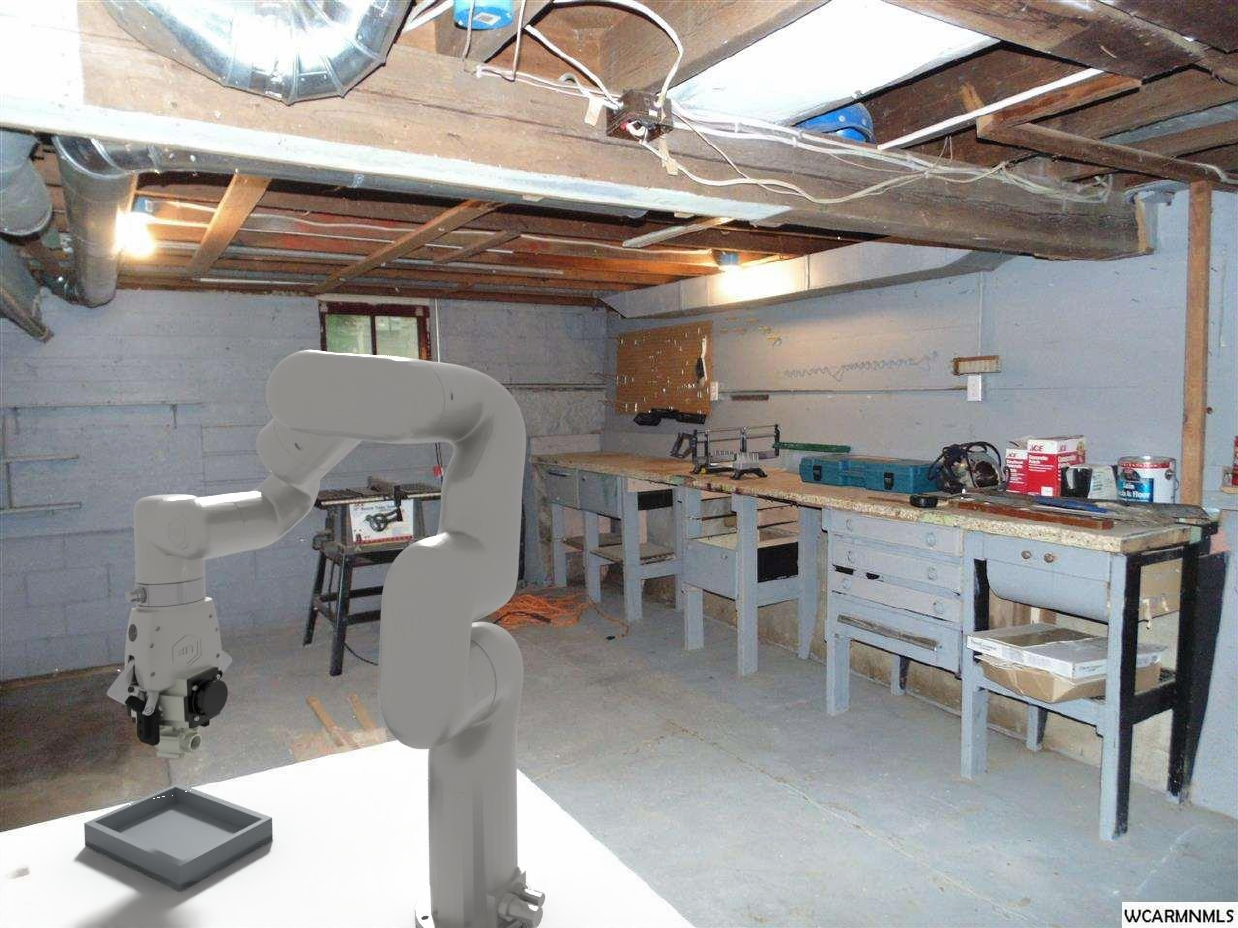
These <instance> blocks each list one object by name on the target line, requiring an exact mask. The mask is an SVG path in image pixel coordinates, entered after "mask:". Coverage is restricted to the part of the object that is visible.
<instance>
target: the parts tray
mask: <svg viewBox="0 0 1238 928" xmlns="http://www.w3.org/2000/svg"><path fill="white" fill-rule="evenodd" d="M190 790H191V791H190ZM185 791H187V792H185ZM172 795H173V796H172ZM162 796H165V797H162ZM157 797H160V798H157ZM153 798H155V799H153ZM129 804H131V805H129ZM83 825H84V846H85V847H86V848H88V849H90V850H92V851H94V852H96V853H98V854H101V855H102V856H105V855H106V856H105V857H107V858H109V859H111V860H113V861H115V862H118V863H119V864H122V865H123V866H126V867H128V868H130V869H133V870H134V871H135V872H136V871H137V872H138V873H141V874H142V875H145V876H146V877H149V878H151V879H152V880H155V881H157V882H159V883H160V884H163V885H166V886H168V887H170V888H172V889H174V890H175V891H178V892H181V893H182V892H183V891H185V890H186V889H188V888H190V887H192V886H193V885H195V884H197V883H199V882H201V881H202V880H204V879H206V878H208V877H210V876H211V875H213V874H215V873H217V872H218V871H220V870H222V869H224V868H226V867H228V866H230V865H231V864H233V863H235V862H237V861H238V860H240V859H242V858H243V857H246V856H247V855H249V854H251V853H253V852H255V851H256V850H258V849H260V848H262V847H263V846H265V845H267V844H269V843H270V842H273V841H274V839H273V837H274V836H273V835H274V834H273V817H272V816H268V815H267V814H263V813H261V812H258V811H255V810H253V809H250V808H247V807H244V806H242V805H239V804H236V803H233V802H230V801H228V800H225V799H222V798H219V797H217V796H214V795H211V794H209V793H207V792H203V791H201V790H197V789H194V788H192V787H190V786H186V785H184V784H181V783H175V784H173V785H170V786H168V787H166V788H163V789H161V790H158V791H155V792H154V793H152V794H151V793H150V795H146V796H145V797H143V798H140V799H138V800H136V801H133V802H130V803H127V804H126V805H123V806H121V807H119V808H116V809H114V810H112V811H110V812H107V813H105V814H103V815H99V816H97V817H96V818H93V819H91V820H88V821H86V822H84V823H83Z"/></svg>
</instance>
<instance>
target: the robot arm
mask: <svg viewBox="0 0 1238 928" xmlns="http://www.w3.org/2000/svg"><path fill="white" fill-rule="evenodd" d="M265 386H266V389H265V400H266V406H267V408H268V410H269V412H270V414H271V415H272V417H273V418H272V419H271V420H270V421H269V422H268V423H267V424H266V425H265V426H264V427H263V428H262V429H261V430H260V431H259V432H258V435H257V438H256V443H255V445H256V451H257V454H258V458H260V461H261V463H262V464H263V465H264V467H266V469H267V470H268V471H269V472H270V474H269V475H268V476H267V477H266V478H265V479H264V480H263V481H262V482H261V483H260V484H259V485H258V486H256V487H255V488H254V489H252V490H250V491H243V492H233V493H232V492H231V493H223V494H216V495H206V496H196V495H193V494H187V493H186V494H184V493H183V494H182V493H181V494H180V493H175V494H173V493H171V494H170V493H169V494H157V495H149V496H144V497H142V498H141V497H140V498H139V499H138V500H137V501H136V502H135V505H134V507H133V534H134V535H133V536H134V568H135V571H134V572H135V575H134V576H135V583H134V584H133V586H134V589H133V590H131V591H127V592H125V596H124V598H125V600H126V603H129V604H130V603H134V604H135V605H136V607H132V608H131V610H130V614H129V618H128V623H127V629H126V637H125V646H124V669H122V671H121V672H120V674H119V675H118V676H117V678H115V680H114V681H113V683H112V684H111V686H110V687H109V688H108V689H107V691H106V695H107V696H108V697H109V698H111V699H113V700H114V701H116V702H119V703H121V704H122V705H123V706H125V707H126V706H127V707H128V708H130V709H132V711H134V712H136V715H137V723H136V735H137V738H138V739H139V741H140V742H141V743H143V744H146V745H149V746H151V747H155V745H158V744H159V742H160V731H161V730H160V729H161V728H160V727H159V714H158V713H156V712H154V709H155V706H156V702H157V699H158V696H159V693H160V691H163V690H167V689H170V688H173V687H175V686H176V679H177V678H180V677H183V676H186V675H189V674H192V673H195V672H198V671H201V670H204V669H207V668H210V667H218V671H219V675H220V678H219V680H221V679H222V677H223V675H224V673H225V672H226V670H227V669H228V667H230V665H231V664H232V662H233V657H232V656H231V655H230V654H228V653H227V652H226V651H224V650H223V649H222V648H223V647H222V638H221V631H220V624H219V620H218V619H219V618H218V615H217V611H216V607H215V603H214V601H213V598H212V597H209V596H207V595H206V594H207V589H206V561H207V560H211V559H217V558H221V557H225V556H229V555H233V554H238V553H239V554H240V553H244V552H249V551H254V550H259V549H263V548H265V547H268V546H270V545H272V544H274V543H276V542H277V541H279V540H280V539H281V538H283V537H285V535H287V534H288V533H289V532H290V531H291V530H292V529H293V528H295V527H296V526H297V524H299V523H300V522H301V521H302V520H304V518H305V517H307V516H308V514H309V513H310V512H311V510H312V509H313V508H314V505H315V503H316V500H317V498H318V494H319V492H320V489H321V487H320V486H321V482H320V481H321V480H322V478H323V477H324V476H325V475H327V474H328V473H329V472H330V471H331V470H332V469H333V468H334V467H335V466H337V464H339V462H341V461H342V460H343V459H344V458H345V457H346V456H347V455H348V454H349V453H351V452H352V451H353V450H354V449H355V448H356V447H357V446H358V445H359V444H361V442H363V441H365V442H373V443H374V442H375V443H383V444H392V445H393V444H394V445H411V444H412V445H413V444H414V445H415V444H434V443H436V444H437V443H448V444H450V445H451V446H452V448H453V450H452V456H451V458H450V460H449V462H448V465H447V467H446V469H445V473H444V475H443V480H442V485H441V490H440V512H439V514H440V515H439V520H438V521H439V522H438V527H437V529H438V530H437V533H436V535H433V536H429V537H425V538H423V539H420V540H417V541H415V542H414V543H412V544H410V545H408V546H407V547H405V548H404V549H403V550H402V551H401V552H400V553H399V554H398V555H397V556H396V557H395V559H394V560H393V562H392V563H391V565H390V568H389V569H388V571H387V575H386V577H385V581H384V584H383V588H382V594H381V606H380V608H381V609H380V623H379V625H380V627H379V643H378V644H379V646H378V647H379V648H378V649H379V650H378V667H377V699H378V706H379V711H380V714H381V717H382V719H383V722H384V724H385V726H386V728H387V730H388V731H389V733H390V734H391V735H392V737H393V738H395V739H396V741H398V742H400V744H403V745H404V746H406V747H408V748H410V749H415V750H428V755H427V798H428V799H427V801H428V803H427V805H428V808H427V810H428V812H427V813H428V819H427V820H428V865H429V866H428V867H429V868H428V869H429V871H428V873H429V875H428V876H429V877H428V879H429V885H428V886H427V887H426V888H425V889H424V890H423V891H422V893H421V894H420V895H419V896H418V898H417V901H416V903H415V907H414V921H415V926H416V928H521V927H522V926H523V925H526V926H529V927H531V928H538V927H539V925H540V924H541V922H542V919H543V913H544V910H543V907H542V906H543V905H544V903H545V901H546V894H545V893H544V892H541V891H538V890H535V889H531V888H530V885H529V883H528V882H527V869H526V868H522V867H520V866H518V863H519V862H518V861H519V860H518V779H517V778H518V773H517V772H518V725H519V715H520V707H521V702H522V701H521V700H522V693H523V686H524V685H523V684H524V662H523V661H524V660H523V657H522V656H523V655H522V652H521V649H520V647H519V645H518V643H517V641H516V640H515V638H514V637H513V636H512V635H511V634H510V632H508V630H506V629H505V628H504V627H501V626H499V625H498V624H495V623H492V622H487V621H479V620H481V619H483V618H485V617H487V616H489V615H491V614H493V613H495V612H497V611H498V610H499V609H501V608H502V607H504V606H505V605H506V604H507V603H508V602H510V600H511V598H512V597H513V595H514V593H515V591H516V588H517V585H518V584H517V583H518V578H519V559H520V557H519V556H520V543H521V527H522V526H521V525H522V524H521V523H522V509H523V506H522V503H523V502H522V498H523V485H524V475H525V474H524V472H525V465H526V464H525V463H526V454H527V453H526V451H527V435H526V433H527V432H526V425H525V421H524V416H523V414H522V410H521V408H520V406H519V405H518V402H517V401H516V399H515V398H514V396H513V394H511V392H510V391H509V390H508V389H507V388H506V387H505V386H503V384H501V383H500V382H499V381H497V380H496V379H494V378H493V377H492V376H490V375H488V374H486V373H484V372H481V371H479V370H476V369H474V368H472V367H467V366H464V365H459V364H455V363H448V362H441V361H440V362H438V361H431V360H424V359H417V358H411V357H410V358H409V357H402V356H392V355H390V356H389V355H388V356H387V355H373V354H371V355H370V354H358V353H357V354H356V353H355V354H354V353H344V352H343V353H339V352H331V351H325V350H324V351H322V350H316V349H315V350H313V349H307V350H306V349H303V350H300V351H296V352H294V353H291V354H290V355H288V356H286V357H284V358H283V359H281V361H279V362H278V363H277V364H276V365H275V366H274V368H273V370H272V371H271V373H270V375H269V377H268V379H267V383H266V385H265ZM129 686H130V687H137V691H136V694H135V696H134V695H132V694H130V693H129V692H128V687H129ZM146 693H147V695H146V698H145V694H146ZM127 707H126V708H127ZM210 721H211V719H210V720H208V721H206V722H205V723H203V724H201V725H199V727H203V728H206V727H208V726H210Z"/></svg>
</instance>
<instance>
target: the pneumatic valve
mask: <svg viewBox="0 0 1238 928" xmlns="http://www.w3.org/2000/svg"><path fill="white" fill-rule="evenodd" d="M219 678H220V675H219V671H218V667H210V668H207V669H204V670H201V671H198V672H195V673H192V674H189V675H186V676H183V677H180V678H177V679H176V686H175V687H173V688H170V689H167V690H163V691H160V693H159V696H158V699H157V702H156V706H155V709H154V712H156V713H158V714H159V727H160V729H162V728H164V727H166V728H164V729H162V730H160V742H159V744H158V745H155V746H154V747H155V748H156V749H157V750H158V751H156V757H157V758H159V759H165V760H166V759H168V760H175V761H177V760H178V761H181V760H183V759H184V760H185V758H186V757H187V755H189V754H192V753H194V752H197V751H199V750H200V749H201V748H202V747H201V746H202V743H203V736H202V735H201V734H200V733H199V731H200V729H201V726H199V725H201V724H203V723H205V722H206V721H208V720H210V721H211V720H212V719H213V718H215V717H217V716H219V715H221V712H222V710H223V709H224V708H225V706H226V704H227V700H228V698H229V691H228V690H229V689H228V686H227V684H226V682H224V681H223V680H221V679H220V680H219ZM136 691H137V687H130V686H129V687H128V692H129V693H130V694H132V695H134V696H135V694H136ZM146 695H147V693H146V694H145V698H146ZM125 708H126V714H127V717H129V718H131V724H137V715H136V712H134V711H132V709H130V708H128V707H127V706H125Z"/></svg>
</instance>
